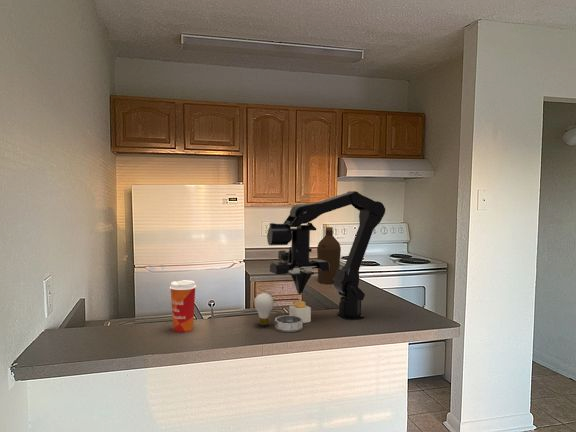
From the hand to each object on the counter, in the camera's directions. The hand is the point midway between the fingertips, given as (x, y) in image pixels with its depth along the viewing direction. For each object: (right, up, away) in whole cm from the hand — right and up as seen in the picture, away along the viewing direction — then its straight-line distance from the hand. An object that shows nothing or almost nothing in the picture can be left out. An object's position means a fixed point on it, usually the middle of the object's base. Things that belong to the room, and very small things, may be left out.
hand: (299, 293), depth 134 cm
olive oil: (+15, -6, +58) cm, 61 cm away
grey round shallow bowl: (-3, -9, -7) cm, 12 cm away
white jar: (0, -9, +1) cm, 9 cm away
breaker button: (0, -6, 0) cm, 6 cm away
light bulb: (-11, -9, -5) cm, 15 cm away
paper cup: (-35, -9, -9) cm, 37 cm away
